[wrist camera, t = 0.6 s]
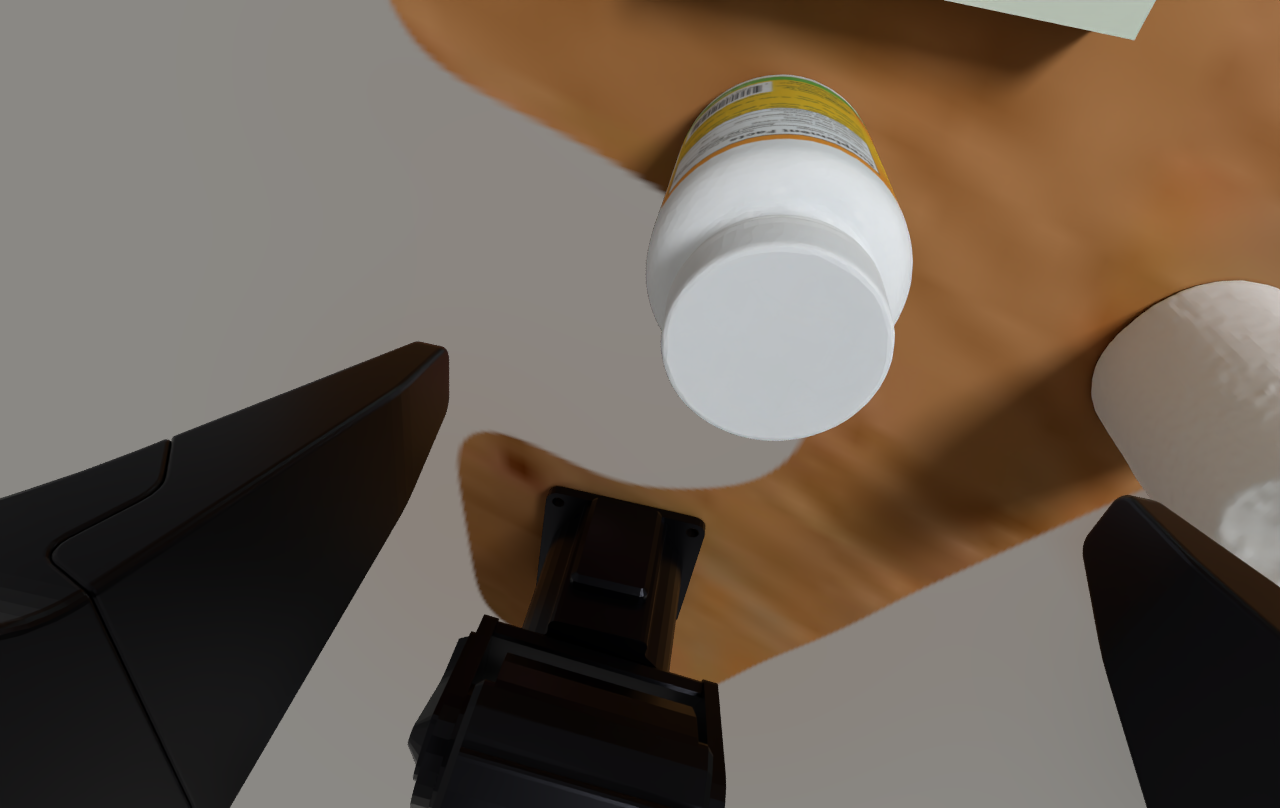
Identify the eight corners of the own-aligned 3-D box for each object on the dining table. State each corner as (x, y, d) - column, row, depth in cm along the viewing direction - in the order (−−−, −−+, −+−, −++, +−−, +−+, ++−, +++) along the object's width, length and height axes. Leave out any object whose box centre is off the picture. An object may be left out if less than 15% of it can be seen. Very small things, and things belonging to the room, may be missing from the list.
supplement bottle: (822, 285, 21) (851, 505, 14) (656, 230, 21) (589, 423, 13) (909, 108, 18) (1012, 266, 10) (714, 41, 18) (671, 152, 10)
